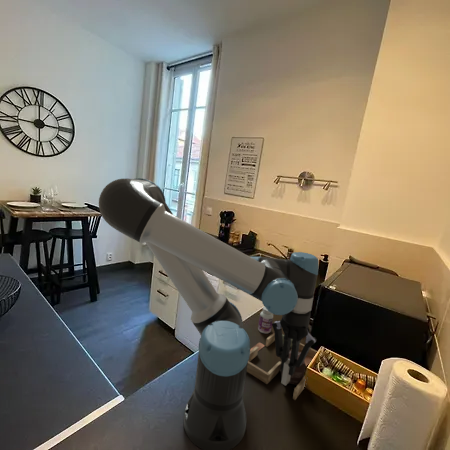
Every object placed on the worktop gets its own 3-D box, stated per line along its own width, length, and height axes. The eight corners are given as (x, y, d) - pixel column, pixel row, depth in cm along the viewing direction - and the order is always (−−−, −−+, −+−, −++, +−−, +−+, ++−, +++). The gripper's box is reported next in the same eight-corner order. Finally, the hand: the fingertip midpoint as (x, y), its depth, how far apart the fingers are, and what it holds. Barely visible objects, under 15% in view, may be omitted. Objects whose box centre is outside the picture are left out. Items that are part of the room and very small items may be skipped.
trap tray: (294, 401, 73) (295, 392, 73) (232, 362, 86) (234, 354, 86) (322, 362, 92) (324, 354, 92) (269, 335, 105) (270, 328, 105)
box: (298, 372, 85) (302, 352, 84) (302, 386, 79) (306, 364, 78) (279, 369, 86) (283, 348, 85) (281, 382, 80) (285, 360, 79)
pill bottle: (260, 334, 105) (264, 311, 103) (255, 327, 110) (259, 305, 108) (273, 333, 106) (276, 311, 105) (267, 326, 111) (270, 305, 110)
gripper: (325, 312, 73) (311, 387, 77) (282, 296, 81) (272, 364, 85) (314, 321, 67) (301, 402, 71) (270, 302, 75) (260, 376, 79)
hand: (285, 381), depth 78 cm, fingers closed
